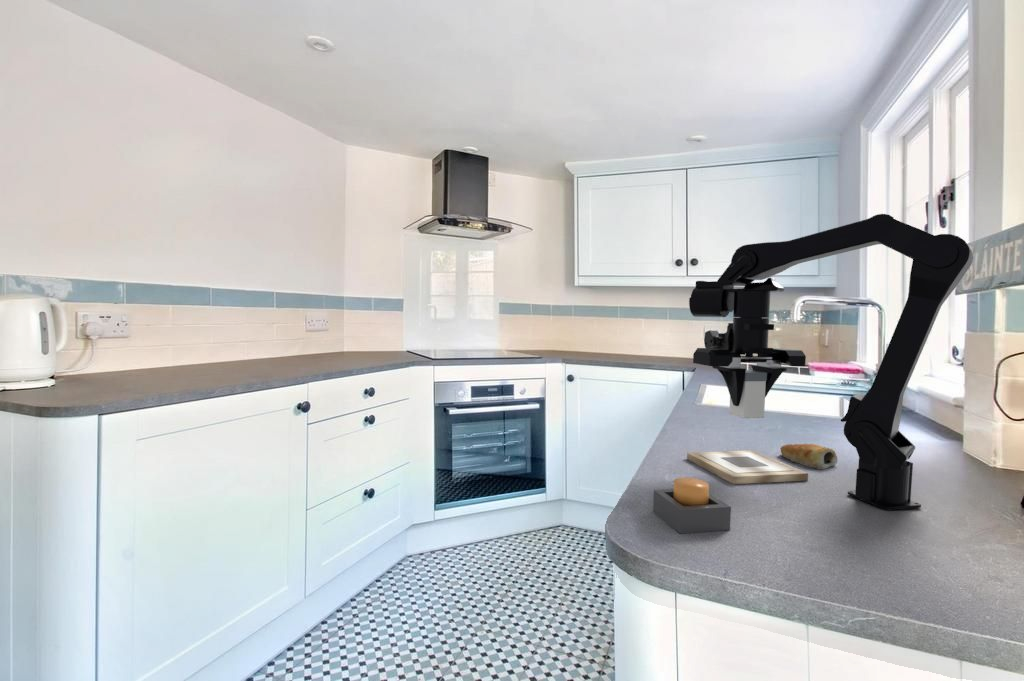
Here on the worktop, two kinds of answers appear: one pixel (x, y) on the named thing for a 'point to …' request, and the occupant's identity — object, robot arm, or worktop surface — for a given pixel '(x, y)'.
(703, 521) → the button housing
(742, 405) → the two-tone grey block
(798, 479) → the picture frame
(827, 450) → the pastry
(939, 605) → the worktop surface
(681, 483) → the button
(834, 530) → the worktop surface
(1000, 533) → the worktop surface
